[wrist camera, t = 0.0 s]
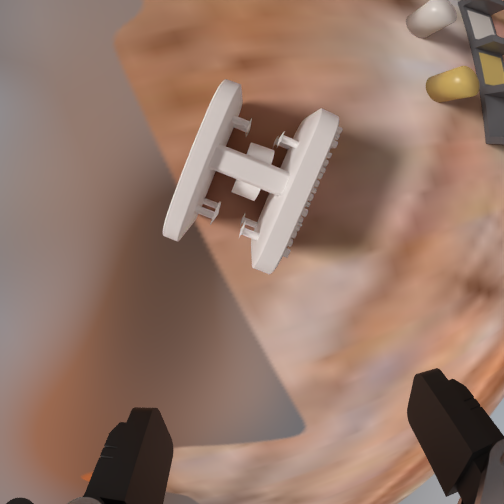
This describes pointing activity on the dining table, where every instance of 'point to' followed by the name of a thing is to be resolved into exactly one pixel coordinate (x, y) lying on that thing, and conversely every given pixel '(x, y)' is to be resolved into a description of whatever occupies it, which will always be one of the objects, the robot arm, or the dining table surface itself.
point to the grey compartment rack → (487, 62)
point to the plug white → (431, 18)
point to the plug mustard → (453, 84)
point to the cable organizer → (253, 175)
